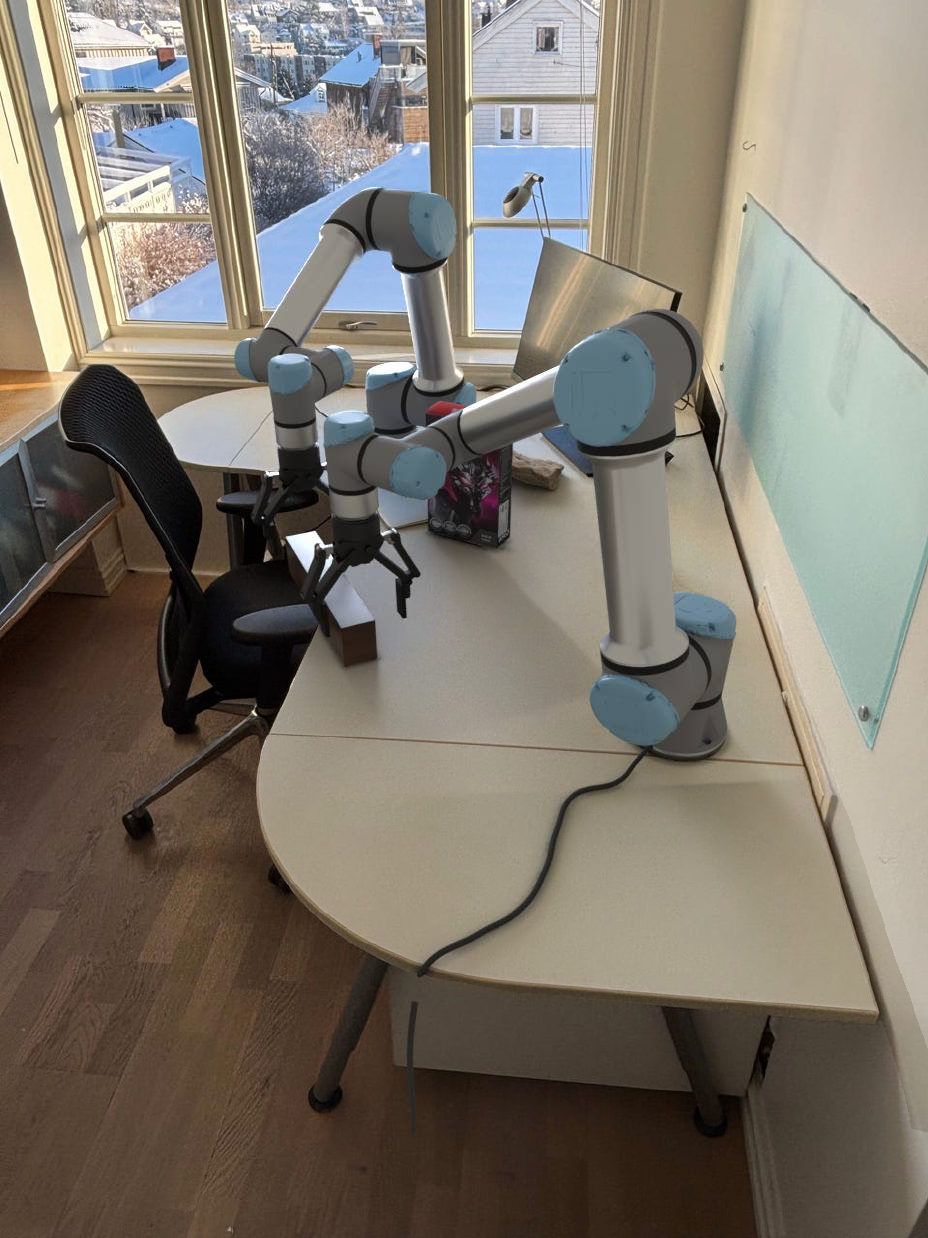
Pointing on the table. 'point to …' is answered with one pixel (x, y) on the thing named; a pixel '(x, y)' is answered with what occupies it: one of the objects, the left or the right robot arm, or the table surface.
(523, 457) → the stone
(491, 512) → the graphics card box
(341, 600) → the beam
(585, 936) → the table surface
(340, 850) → the table surface
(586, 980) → the table surface
